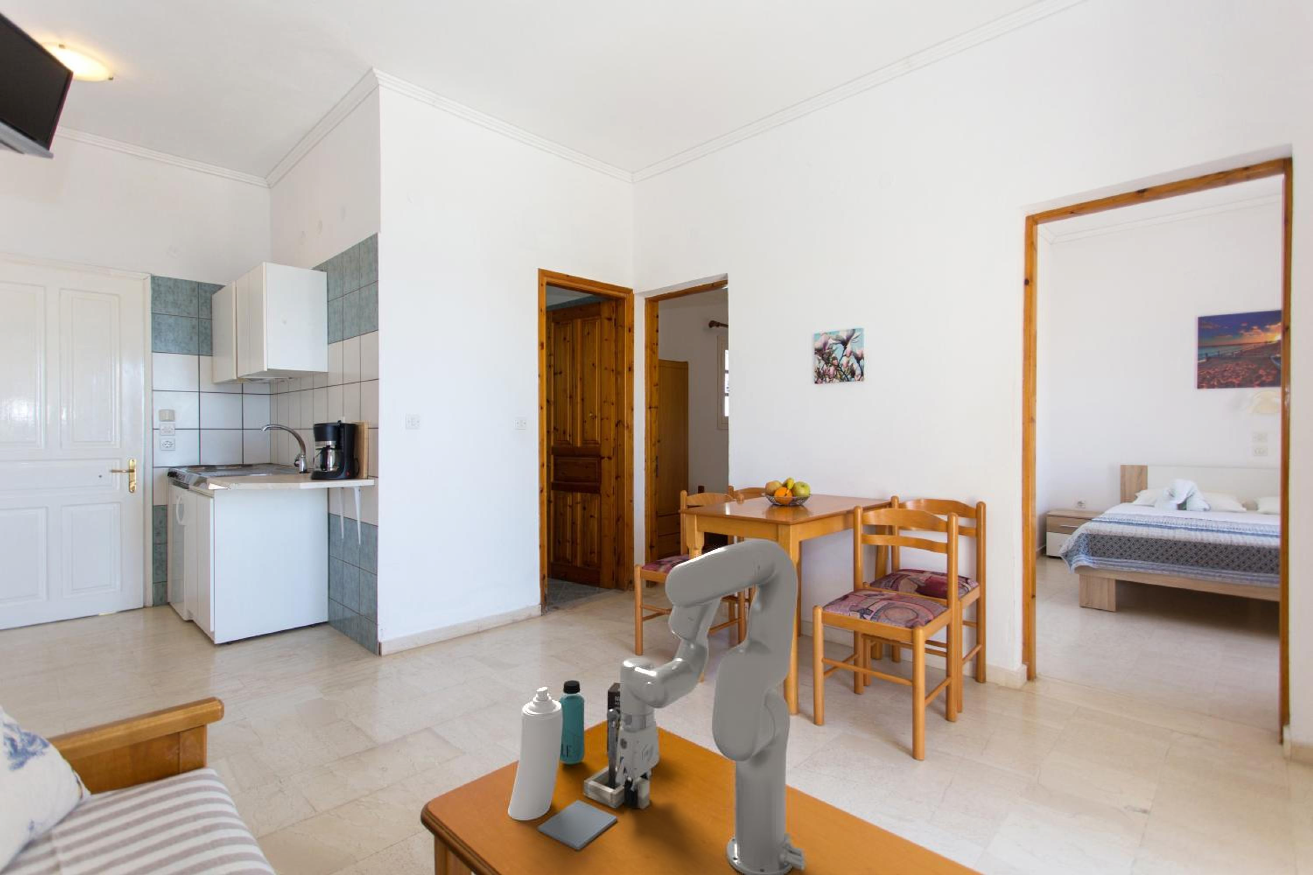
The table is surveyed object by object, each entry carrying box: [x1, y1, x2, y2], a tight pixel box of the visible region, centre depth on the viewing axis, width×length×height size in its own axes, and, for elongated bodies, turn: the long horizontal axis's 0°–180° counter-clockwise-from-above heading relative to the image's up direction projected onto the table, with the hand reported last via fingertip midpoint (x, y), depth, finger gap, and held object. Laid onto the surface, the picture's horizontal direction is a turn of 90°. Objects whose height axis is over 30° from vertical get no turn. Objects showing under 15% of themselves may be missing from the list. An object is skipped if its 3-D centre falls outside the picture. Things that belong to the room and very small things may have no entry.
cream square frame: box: [583, 764, 650, 810], centre depth 141 cm, size 14×9×5 cm, turn 55°
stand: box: [603, 709, 620, 790], centre depth 143 cm, size 5×5×19 cm
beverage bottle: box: [558, 680, 586, 765], centre depth 155 cm, size 6×7×20 cm
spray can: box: [507, 687, 563, 821], centre depth 138 cm, size 12×11×25 cm
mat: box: [537, 799, 618, 851], centre depth 131 cm, size 11×12×1 cm
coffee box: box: [606, 681, 621, 756], centre depth 162 cm, size 9×6×16 cm
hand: (636, 800), depth 139 cm, fingers open, 3 cm apart
